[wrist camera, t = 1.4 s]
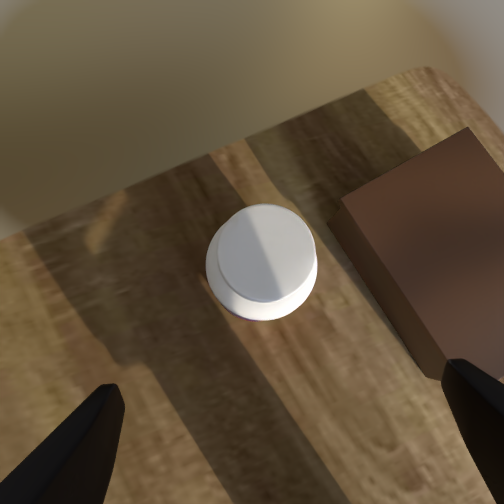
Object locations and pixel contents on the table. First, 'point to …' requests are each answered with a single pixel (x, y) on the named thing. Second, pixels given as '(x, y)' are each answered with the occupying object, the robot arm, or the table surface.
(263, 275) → the pill bottle
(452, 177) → the cabinet
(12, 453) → the table surface
